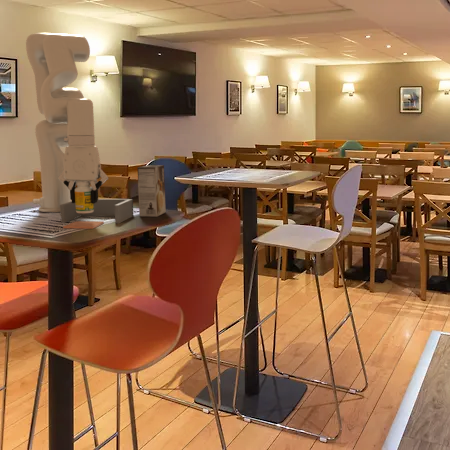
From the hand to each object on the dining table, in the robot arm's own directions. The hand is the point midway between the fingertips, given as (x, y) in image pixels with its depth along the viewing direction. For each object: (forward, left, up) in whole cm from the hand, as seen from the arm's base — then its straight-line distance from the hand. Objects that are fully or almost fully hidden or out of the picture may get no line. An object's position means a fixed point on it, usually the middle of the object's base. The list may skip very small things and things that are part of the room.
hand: (84, 202), depth 175 cm
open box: (0, +9, -7) cm, 12 cm away
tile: (0, -3, -7) cm, 7 cm away
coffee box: (+15, +20, -7) cm, 27 cm away
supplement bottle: (0, 0, -3) cm, 3 cm away
